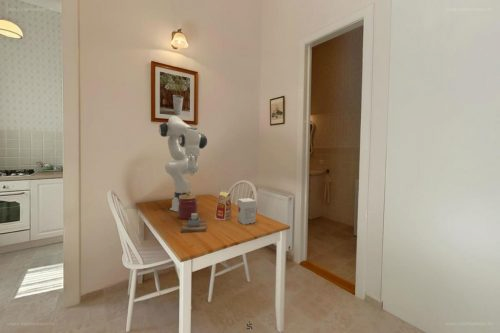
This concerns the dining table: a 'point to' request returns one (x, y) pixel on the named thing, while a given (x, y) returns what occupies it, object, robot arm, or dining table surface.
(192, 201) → the canister
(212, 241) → the dining table surface
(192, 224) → the collar
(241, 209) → the supplement box
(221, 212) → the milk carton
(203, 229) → the post base
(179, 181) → the robot arm
